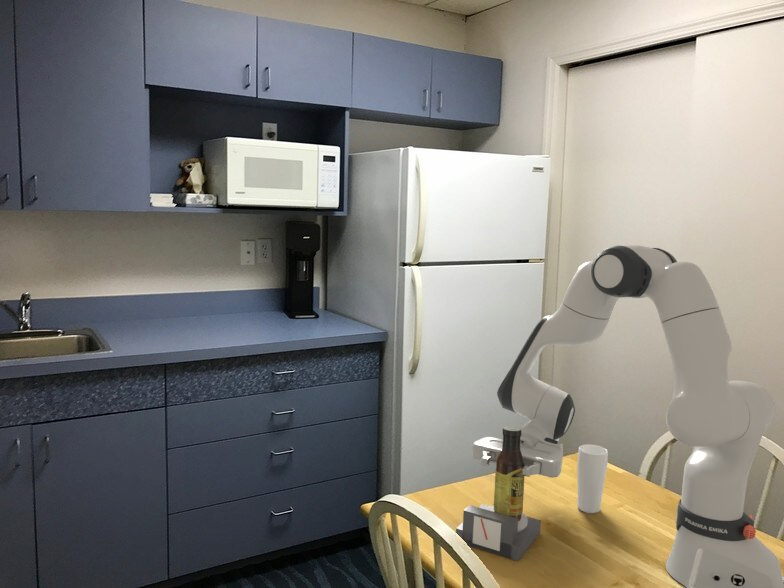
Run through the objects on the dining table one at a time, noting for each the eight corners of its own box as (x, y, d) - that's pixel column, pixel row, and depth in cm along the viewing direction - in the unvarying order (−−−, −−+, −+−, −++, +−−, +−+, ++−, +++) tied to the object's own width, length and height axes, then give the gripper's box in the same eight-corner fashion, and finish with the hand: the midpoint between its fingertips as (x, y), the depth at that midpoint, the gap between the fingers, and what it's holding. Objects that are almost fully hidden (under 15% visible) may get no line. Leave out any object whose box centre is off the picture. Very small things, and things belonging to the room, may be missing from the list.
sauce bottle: (514, 527, 142) (517, 434, 140) (488, 519, 146) (491, 429, 144) (527, 517, 147) (531, 428, 145) (502, 509, 151) (505, 422, 149)
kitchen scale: (540, 533, 149) (542, 500, 148) (517, 561, 136) (519, 527, 135) (481, 516, 156) (483, 485, 155) (454, 542, 143) (456, 509, 142)
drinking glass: (600, 504, 164) (604, 445, 162) (606, 516, 157) (611, 455, 155) (571, 501, 165) (576, 443, 163) (576, 514, 158) (581, 453, 156)
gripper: (485, 426, 161) (461, 443, 150) (569, 444, 151) (551, 464, 139) (483, 451, 162) (459, 470, 150) (567, 471, 152) (549, 493, 140)
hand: (504, 467), depth 145 cm, fingers open, 8 cm apart
